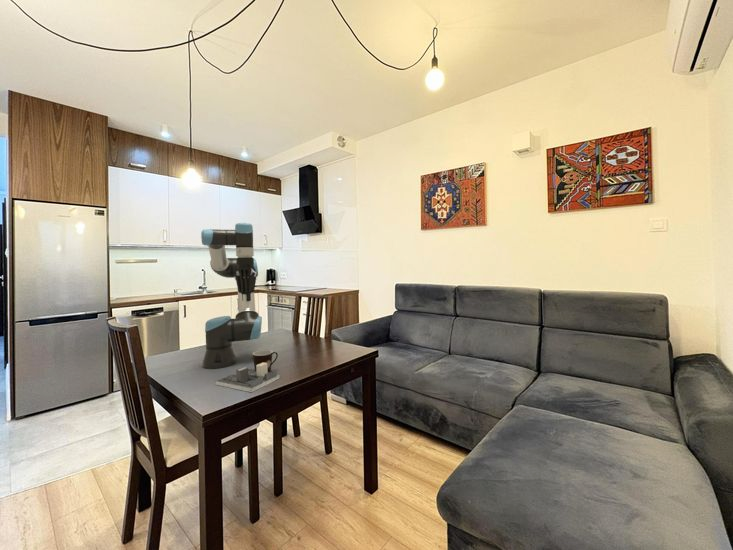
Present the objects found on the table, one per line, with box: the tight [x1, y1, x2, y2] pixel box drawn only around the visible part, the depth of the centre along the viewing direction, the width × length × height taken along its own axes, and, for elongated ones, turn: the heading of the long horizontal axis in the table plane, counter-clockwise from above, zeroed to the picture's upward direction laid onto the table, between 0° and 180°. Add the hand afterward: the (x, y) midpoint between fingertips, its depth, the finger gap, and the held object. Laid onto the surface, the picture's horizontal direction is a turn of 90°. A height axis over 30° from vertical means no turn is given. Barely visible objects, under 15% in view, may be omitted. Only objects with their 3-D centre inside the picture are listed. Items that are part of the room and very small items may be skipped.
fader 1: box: [235, 367, 249, 382], centre depth 129 cm, size 2×4×5 cm, turn 154°
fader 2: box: [256, 363, 268, 376], centre depth 135 cm, size 2×4×5 cm, turn 154°
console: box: [215, 368, 281, 393], centre depth 133 cm, size 20×16×4 cm
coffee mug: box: [252, 349, 279, 372], centre depth 143 cm, size 12×9×10 cm
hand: (246, 308), depth 146 cm, fingers closed
